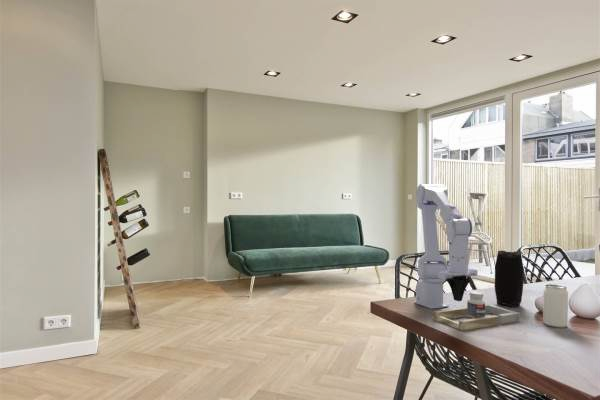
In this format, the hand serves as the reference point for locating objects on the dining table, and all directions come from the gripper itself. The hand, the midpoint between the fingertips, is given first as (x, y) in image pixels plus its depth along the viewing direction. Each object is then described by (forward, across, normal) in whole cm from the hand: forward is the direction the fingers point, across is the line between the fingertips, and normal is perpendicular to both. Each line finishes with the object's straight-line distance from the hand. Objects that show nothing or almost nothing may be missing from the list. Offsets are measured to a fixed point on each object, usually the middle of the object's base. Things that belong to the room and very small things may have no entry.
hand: (457, 300), depth 127 cm
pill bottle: (+7, +8, 0) cm, 11 cm away
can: (+7, +28, -13) cm, 31 cm away
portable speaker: (+7, +34, +9) cm, 36 cm away
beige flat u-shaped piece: (+7, +4, 0) cm, 8 cm away
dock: (+7, +17, 0) cm, 18 cm away
